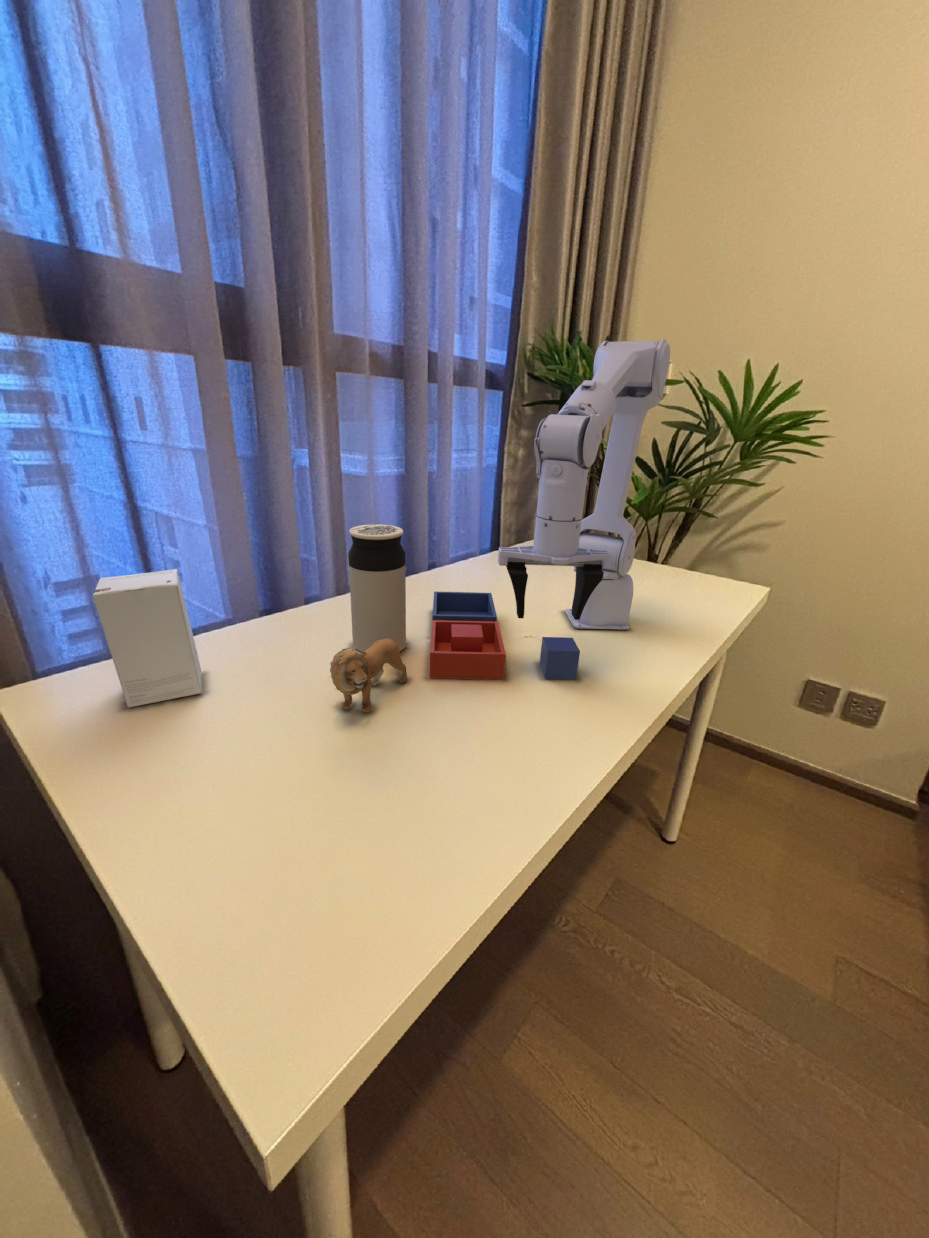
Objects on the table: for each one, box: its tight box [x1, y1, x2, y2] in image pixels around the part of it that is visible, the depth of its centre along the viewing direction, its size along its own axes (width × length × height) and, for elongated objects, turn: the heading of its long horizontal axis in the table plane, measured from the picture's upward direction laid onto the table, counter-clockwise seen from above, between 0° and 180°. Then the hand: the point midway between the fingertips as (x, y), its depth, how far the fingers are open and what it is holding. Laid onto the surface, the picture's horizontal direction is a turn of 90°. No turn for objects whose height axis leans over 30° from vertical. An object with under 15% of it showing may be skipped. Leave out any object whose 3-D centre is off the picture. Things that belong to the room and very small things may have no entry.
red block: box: [451, 624, 483, 652], centre depth 73 cm, size 4×4×4 cm
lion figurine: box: [329, 639, 408, 713], centre depth 62 cm, size 15×5×9 cm, turn 162°
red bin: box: [429, 619, 507, 681], centre depth 73 cm, size 10×11×4 cm
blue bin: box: [431, 590, 498, 622], centre depth 85 cm, size 10×11×4 cm
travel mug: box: [347, 523, 407, 652], centre depth 74 cm, size 8×8×18 cm
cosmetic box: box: [92, 568, 203, 708], centre depth 60 cm, size 8×6×15 cm
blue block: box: [539, 636, 581, 680], centre depth 71 cm, size 4×4×4 cm
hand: (547, 616), depth 69 cm, fingers open, 7 cm apart
